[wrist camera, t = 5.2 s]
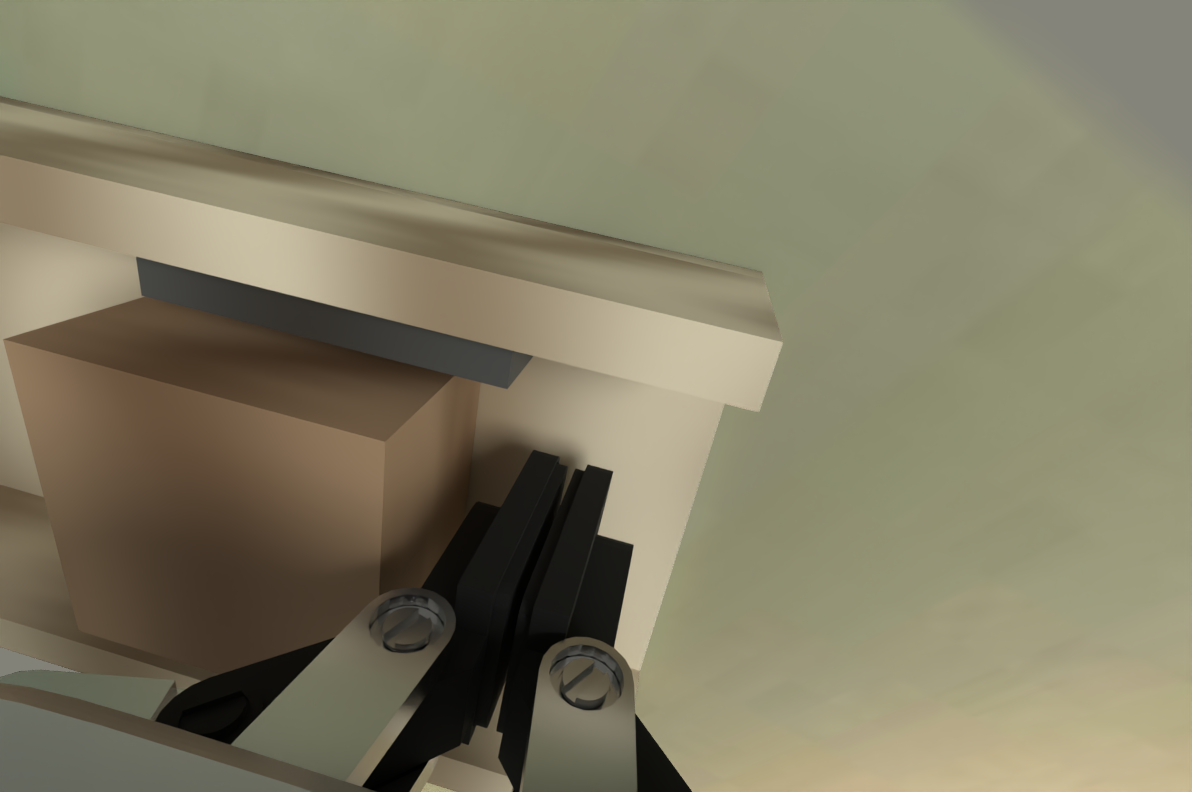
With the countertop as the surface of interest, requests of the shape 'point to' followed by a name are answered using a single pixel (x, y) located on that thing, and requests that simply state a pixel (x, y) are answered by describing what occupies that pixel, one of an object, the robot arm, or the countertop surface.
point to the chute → (375, 340)
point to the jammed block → (235, 477)
